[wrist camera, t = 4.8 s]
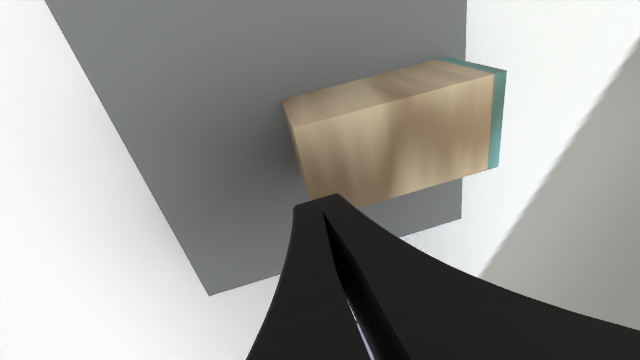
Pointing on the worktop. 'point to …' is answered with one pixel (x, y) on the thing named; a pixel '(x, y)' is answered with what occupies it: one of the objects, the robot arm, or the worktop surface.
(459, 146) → the block
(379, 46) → the mat
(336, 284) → the robot arm
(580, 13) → the worktop surface
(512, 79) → the worktop surface
